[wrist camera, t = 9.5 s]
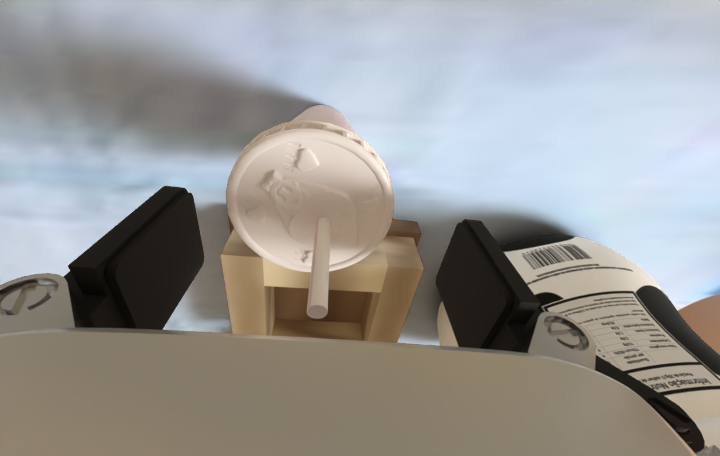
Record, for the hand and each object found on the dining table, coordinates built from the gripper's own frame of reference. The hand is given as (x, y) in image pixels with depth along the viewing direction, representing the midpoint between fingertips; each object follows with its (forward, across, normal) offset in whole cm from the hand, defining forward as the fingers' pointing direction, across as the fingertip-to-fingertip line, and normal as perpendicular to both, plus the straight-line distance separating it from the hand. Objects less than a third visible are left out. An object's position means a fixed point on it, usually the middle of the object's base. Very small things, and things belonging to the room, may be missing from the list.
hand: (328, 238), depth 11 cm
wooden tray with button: (+11, 0, +17) cm, 21 cm away
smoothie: (+11, +1, -1) cm, 11 cm away
